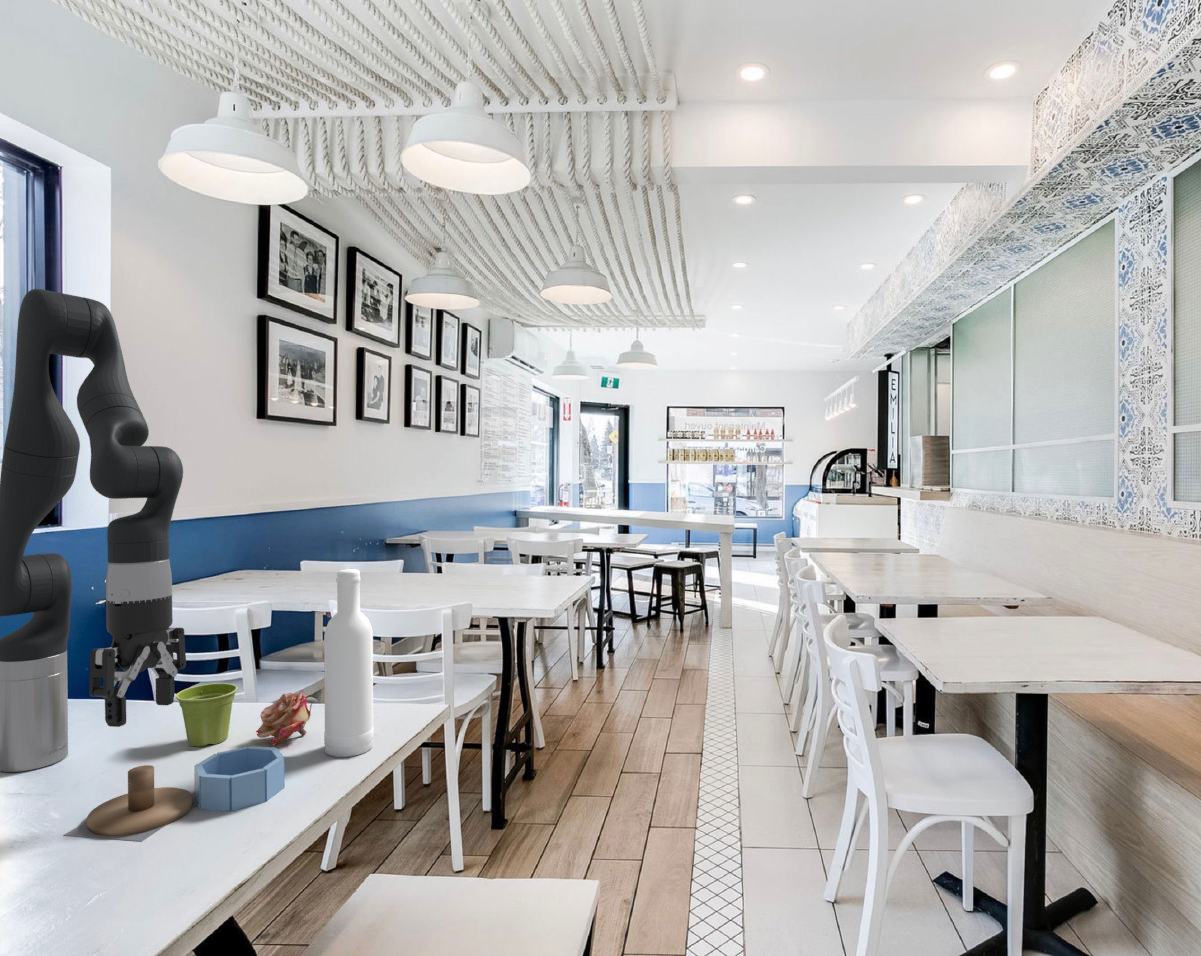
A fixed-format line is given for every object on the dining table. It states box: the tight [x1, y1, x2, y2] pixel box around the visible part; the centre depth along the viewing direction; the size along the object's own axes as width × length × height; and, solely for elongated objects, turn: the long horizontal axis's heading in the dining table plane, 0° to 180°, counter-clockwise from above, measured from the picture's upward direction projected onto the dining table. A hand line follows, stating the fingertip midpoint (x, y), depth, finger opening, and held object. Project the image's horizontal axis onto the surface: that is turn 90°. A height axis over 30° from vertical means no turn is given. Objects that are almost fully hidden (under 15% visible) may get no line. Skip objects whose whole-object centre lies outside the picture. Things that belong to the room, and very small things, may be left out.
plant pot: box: [175, 682, 239, 748], centre depth 126 cm, size 9×9×9 cm
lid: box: [86, 764, 193, 836], centre depth 98 cm, size 12×12×6 cm
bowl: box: [193, 745, 286, 812], centre depth 105 cm, size 11×11×5 cm
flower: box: [255, 689, 313, 746], centre depth 127 cm, size 10×9×8 cm
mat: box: [63, 793, 198, 843], centre depth 98 cm, size 11×13×1 cm
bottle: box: [323, 568, 375, 758], centre depth 123 cm, size 8×8×30 cm
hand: (141, 714), depth 98 cm, fingers open, 8 cm apart
